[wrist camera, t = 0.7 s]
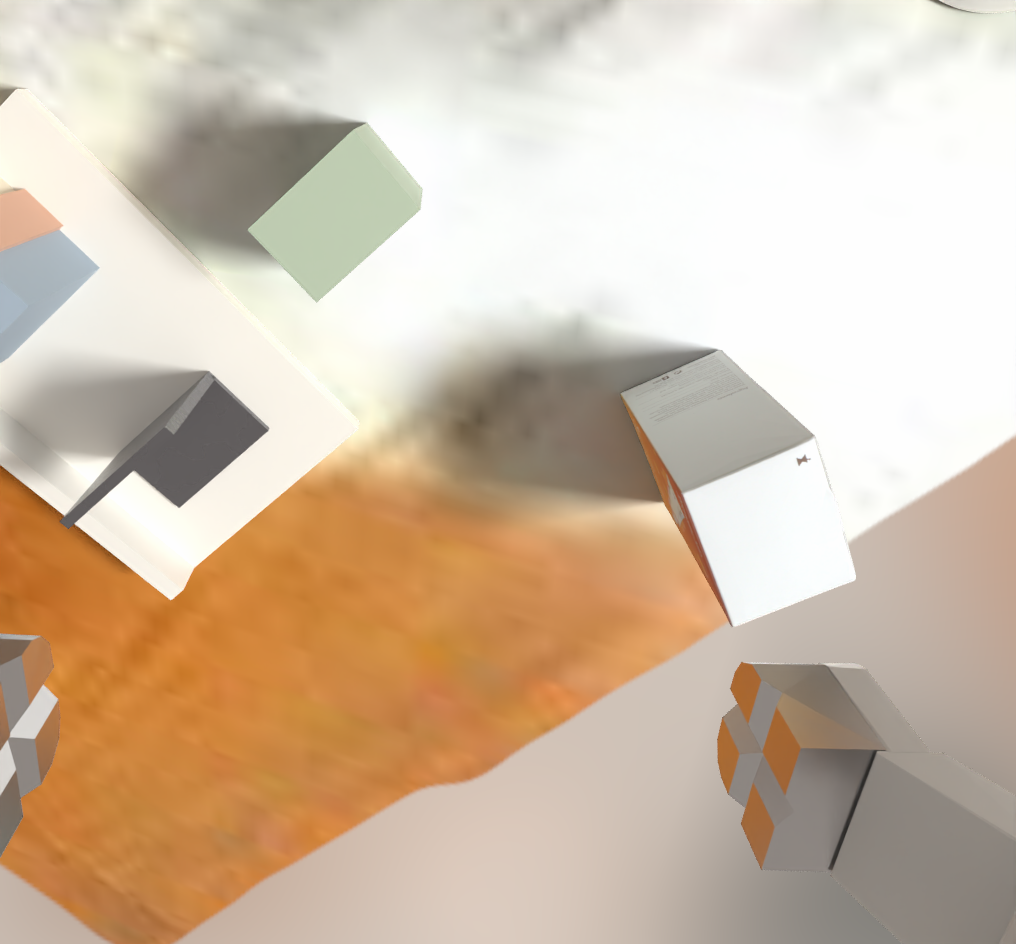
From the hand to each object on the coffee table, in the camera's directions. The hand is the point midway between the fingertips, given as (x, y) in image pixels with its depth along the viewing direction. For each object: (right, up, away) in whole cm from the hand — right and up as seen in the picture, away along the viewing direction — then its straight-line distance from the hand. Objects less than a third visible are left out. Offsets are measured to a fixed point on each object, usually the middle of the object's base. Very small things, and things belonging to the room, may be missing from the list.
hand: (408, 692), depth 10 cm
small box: (+12, +5, +39) cm, 41 cm away
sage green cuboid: (-7, +16, +32) cm, 36 cm away
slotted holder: (-20, +9, +34) cm, 40 cm away
